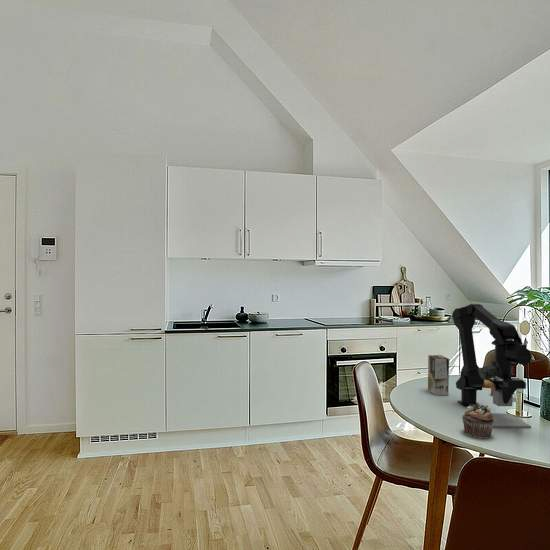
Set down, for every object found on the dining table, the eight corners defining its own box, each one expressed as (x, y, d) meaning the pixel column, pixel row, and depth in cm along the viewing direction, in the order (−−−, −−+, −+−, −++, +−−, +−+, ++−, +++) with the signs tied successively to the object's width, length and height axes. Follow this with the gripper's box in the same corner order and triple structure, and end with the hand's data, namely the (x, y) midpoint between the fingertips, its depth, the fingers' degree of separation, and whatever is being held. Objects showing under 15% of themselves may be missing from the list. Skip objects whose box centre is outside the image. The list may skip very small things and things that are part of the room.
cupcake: (497, 433, 144) (497, 403, 144) (488, 441, 137) (489, 410, 137) (467, 426, 150) (467, 397, 150) (457, 433, 143) (458, 403, 143)
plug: (492, 403, 158) (493, 389, 157) (511, 403, 158) (512, 389, 158) (497, 406, 154) (498, 392, 154) (517, 406, 154) (517, 392, 154)
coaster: (476, 415, 162) (476, 413, 162) (510, 415, 162) (510, 413, 162) (493, 427, 149) (494, 425, 149) (531, 428, 149) (531, 425, 149)
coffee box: (449, 395, 188) (449, 358, 188) (434, 395, 188) (434, 358, 188) (441, 389, 197) (442, 354, 197) (427, 389, 197) (427, 354, 197)
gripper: (469, 353, 165) (468, 394, 165) (495, 364, 146) (494, 409, 146) (498, 354, 165) (497, 394, 165) (527, 364, 146) (526, 410, 146)
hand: (502, 401), depth 156 cm, fingers closed on plug, 4 cm apart
